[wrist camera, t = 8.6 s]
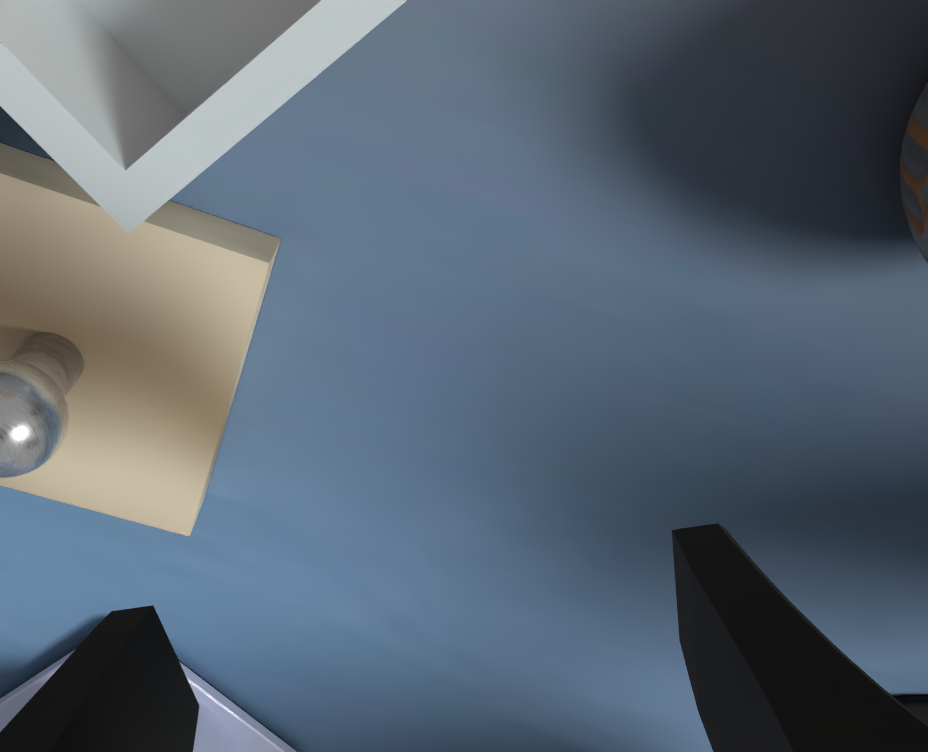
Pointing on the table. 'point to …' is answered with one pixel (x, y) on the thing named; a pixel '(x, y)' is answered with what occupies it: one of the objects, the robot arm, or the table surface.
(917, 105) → the vase
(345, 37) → the bin
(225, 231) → the base
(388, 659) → the table surface
